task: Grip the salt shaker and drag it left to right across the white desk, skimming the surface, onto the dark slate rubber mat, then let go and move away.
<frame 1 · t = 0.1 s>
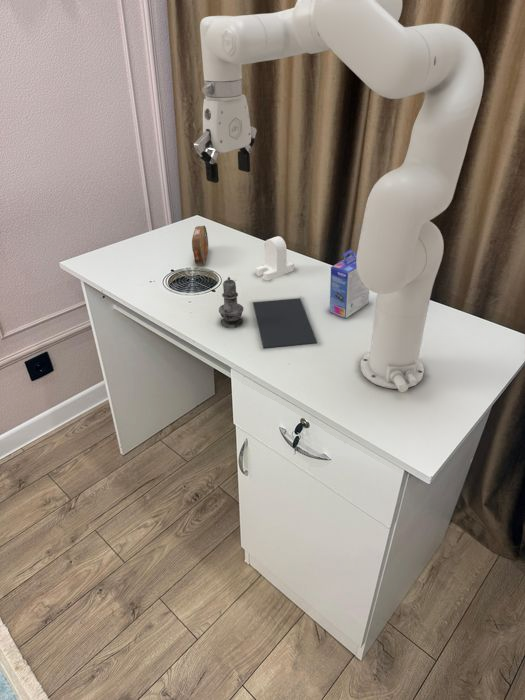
hand: (228, 176, 112), 31 cm above the table, tool pointing down, fingers open, 9 cm apart
tin: (201, 258, 151), on the table
cable organizer: (275, 272, 142), on the table
ink cartridge box: (348, 308, 126), on the table
salt shaker: (232, 322, 121), on the table
mat: (283, 322, 121), on the table
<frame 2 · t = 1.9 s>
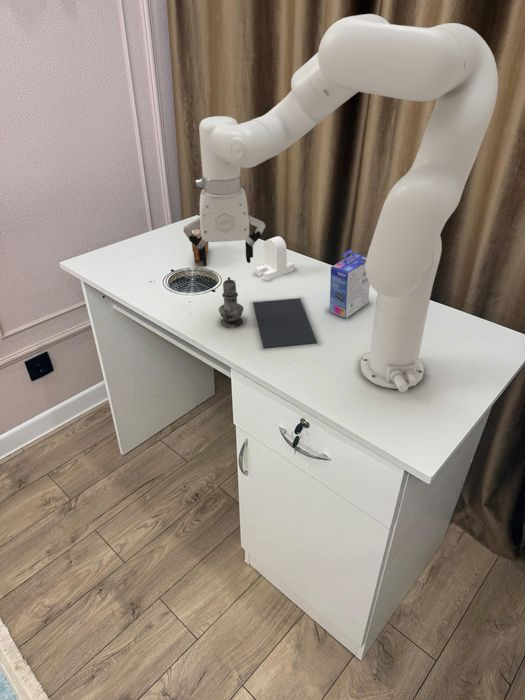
hand: (226, 261, 113), 16 cm above the table, tool pointing down, fingers open, 9 cm apart
nothing on the table moved.
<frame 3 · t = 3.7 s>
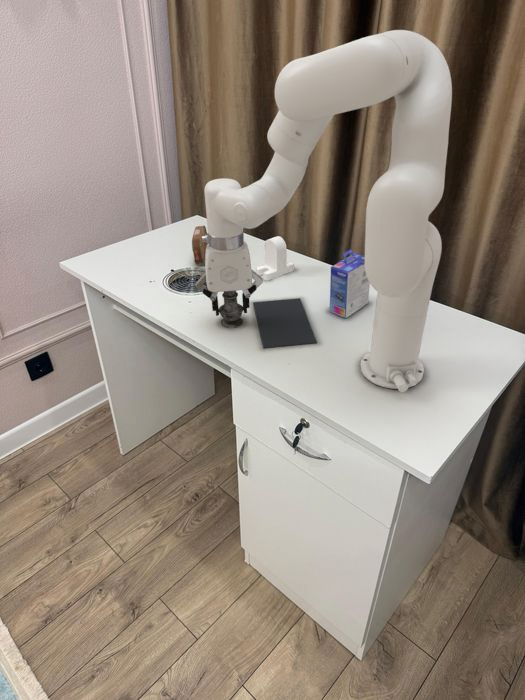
hand: (231, 311, 120), 3 cm above the table, tool pointing down, fingers closed on salt shaker, 5 cm apart
salt shaker: (232, 322, 121), on the table, touching gripper
everything else where it was.
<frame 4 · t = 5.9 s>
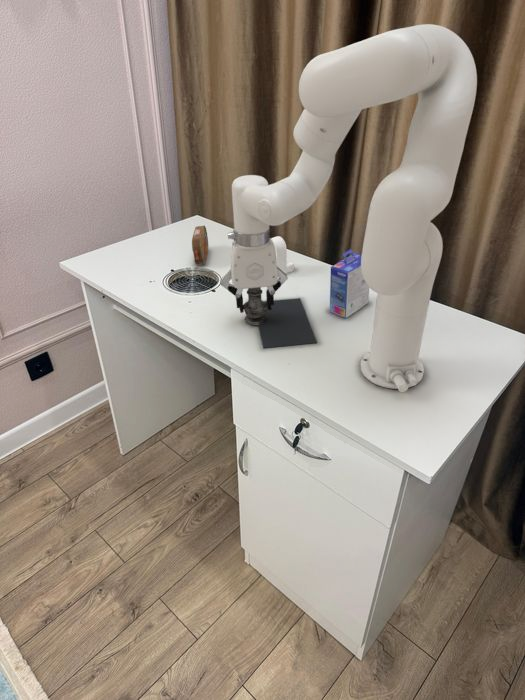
hand: (255, 308, 120), 3 cm above the table, tool pointing down, fingers closed on salt shaker, 5 cm apart
salt shaker: (255, 319, 122), on the table, touching gripper
everything else where it was.
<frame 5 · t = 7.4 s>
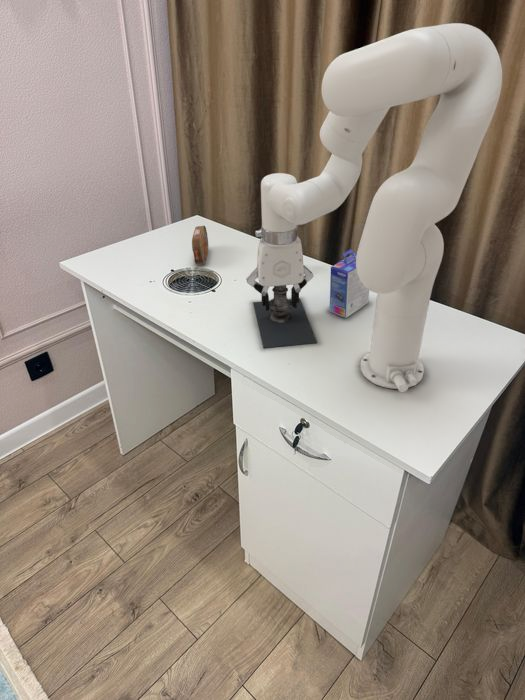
hand: (280, 305, 120), 3 cm above the table, tool pointing down, fingers closed on salt shaker, 5 cm apart
salt shaker: (280, 317, 122), resting on mat, touching gripper
everything else where it was.
when the fingers open (3 cm above the table, at t = 8.3 s): salt shaker stays where it is, resting on mat.
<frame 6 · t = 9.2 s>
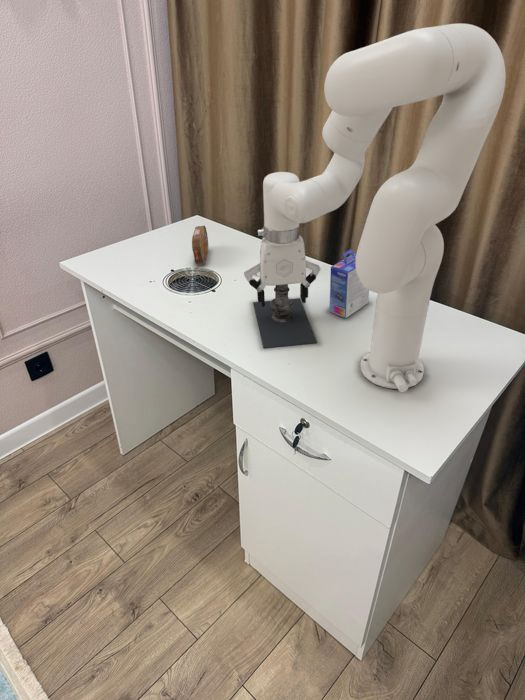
hand: (282, 302, 120), 4 cm above the table, tool pointing down, fingers open, 9 cm apart
salt shaker: (281, 317, 122), resting on mat
everything else where it was.
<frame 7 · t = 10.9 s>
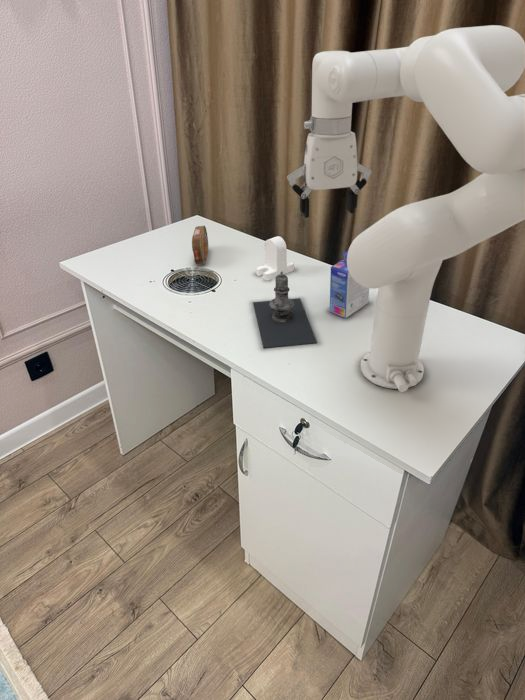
hand: (328, 213, 107), 26 cm above the table, tool pointing down, fingers open, 9 cm apart
nothing on the table moved.
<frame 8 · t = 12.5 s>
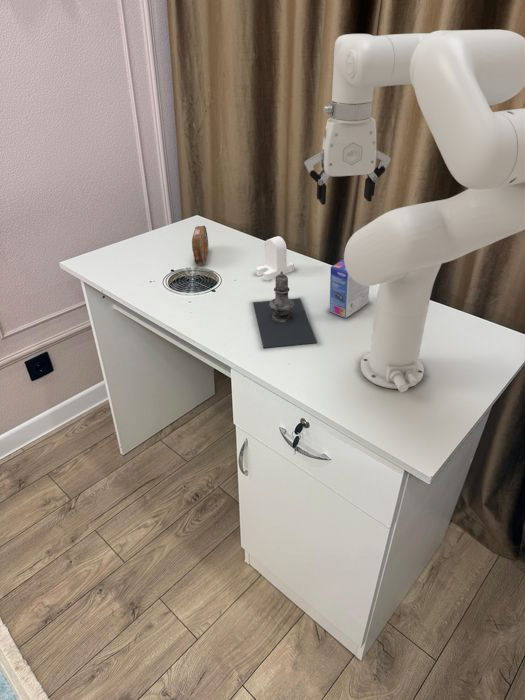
hand: (344, 200, 106), 28 cm above the table, tool pointing down, fingers open, 9 cm apart
nothing on the table moved.
at the end: salt shaker inside the target area on the mat (2.0 cm from its centre), point 0.1 cm above the mat's base; salt shaker tilted 0°; salt shaker moved 12.0 cm from its start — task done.
